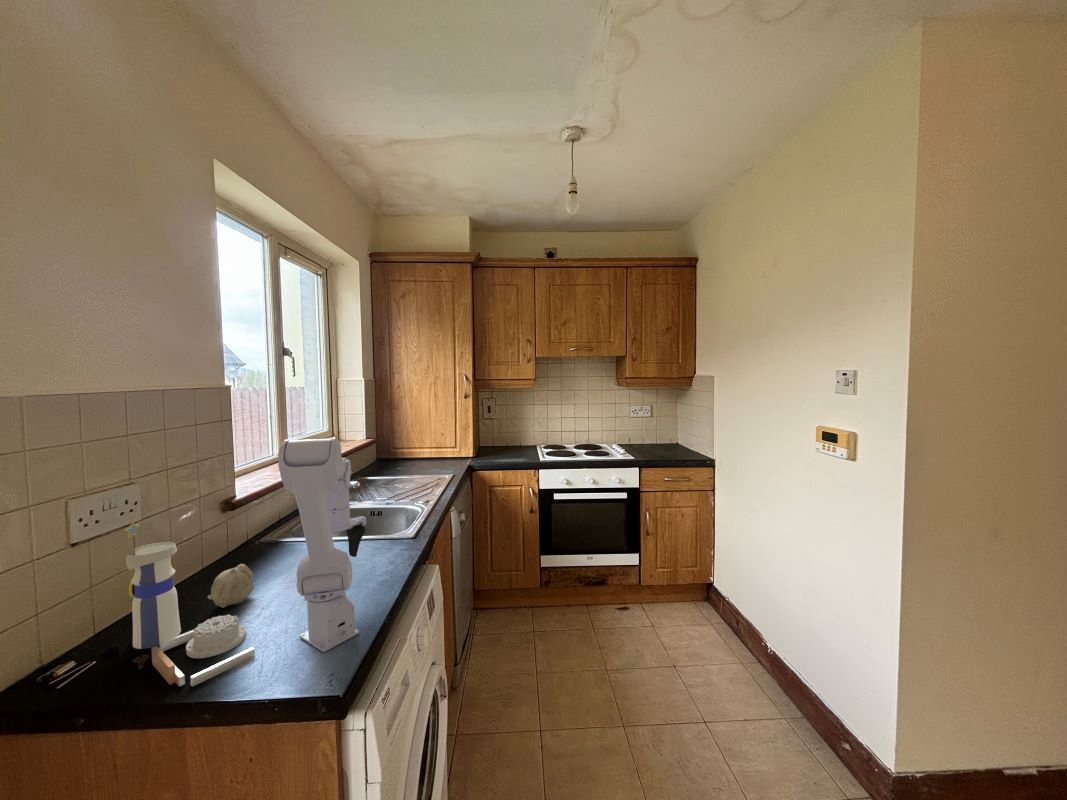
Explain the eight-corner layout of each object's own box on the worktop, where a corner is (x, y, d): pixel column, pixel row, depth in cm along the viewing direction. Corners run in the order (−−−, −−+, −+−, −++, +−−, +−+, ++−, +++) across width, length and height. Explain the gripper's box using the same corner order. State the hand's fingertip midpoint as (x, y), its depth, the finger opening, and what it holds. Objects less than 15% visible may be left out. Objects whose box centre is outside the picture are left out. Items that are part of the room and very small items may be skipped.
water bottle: (120, 655, 85) (113, 531, 84) (140, 632, 93) (133, 518, 92) (172, 644, 88) (166, 525, 87) (187, 623, 96) (181, 513, 95)
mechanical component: (251, 643, 89) (240, 624, 96) (250, 623, 88) (239, 605, 95) (189, 667, 82) (183, 644, 89) (188, 644, 81) (182, 623, 88)
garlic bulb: (247, 603, 109) (258, 561, 112) (252, 610, 103) (264, 566, 106) (202, 603, 104) (215, 560, 106) (204, 611, 97) (218, 565, 100)
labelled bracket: (254, 656, 84) (254, 640, 84) (177, 694, 74) (176, 676, 74) (218, 627, 94) (217, 612, 94) (146, 656, 84) (145, 640, 84)
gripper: (354, 497, 113) (356, 548, 114) (298, 511, 101) (300, 568, 102) (370, 501, 109) (372, 553, 110) (314, 517, 97) (316, 575, 98)
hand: (338, 561), depth 106 cm, fingers open, 7 cm apart
